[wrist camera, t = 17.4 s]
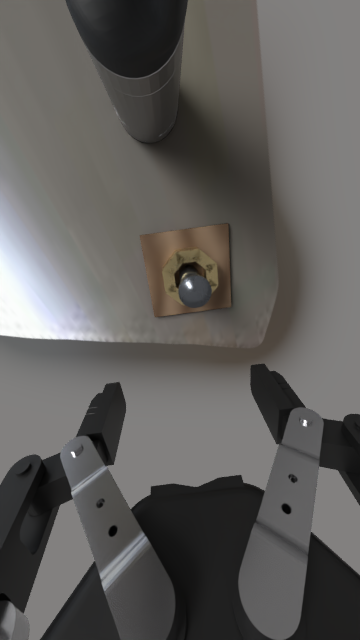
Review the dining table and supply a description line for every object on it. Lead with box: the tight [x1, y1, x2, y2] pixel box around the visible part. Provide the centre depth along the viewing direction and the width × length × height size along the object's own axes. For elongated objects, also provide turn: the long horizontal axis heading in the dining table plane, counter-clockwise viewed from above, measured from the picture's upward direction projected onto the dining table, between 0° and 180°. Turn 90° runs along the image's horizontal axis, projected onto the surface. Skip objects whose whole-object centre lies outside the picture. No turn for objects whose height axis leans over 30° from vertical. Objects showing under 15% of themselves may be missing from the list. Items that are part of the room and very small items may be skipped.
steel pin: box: [178, 265, 212, 308], centre depth 38 cm, size 5×5×12 cm
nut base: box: [140, 223, 231, 317], centre depth 42 cm, size 16×16×5 cm
